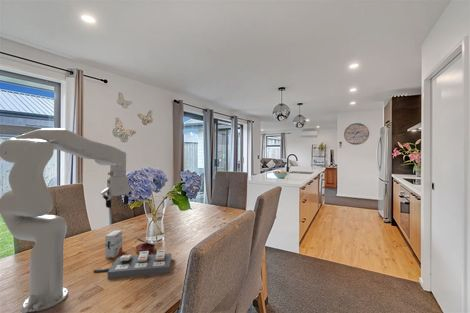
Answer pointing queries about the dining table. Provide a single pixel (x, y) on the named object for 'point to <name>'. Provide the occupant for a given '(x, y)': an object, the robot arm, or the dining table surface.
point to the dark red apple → (145, 247)
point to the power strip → (138, 267)
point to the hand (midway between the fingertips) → (117, 205)
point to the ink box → (113, 244)
